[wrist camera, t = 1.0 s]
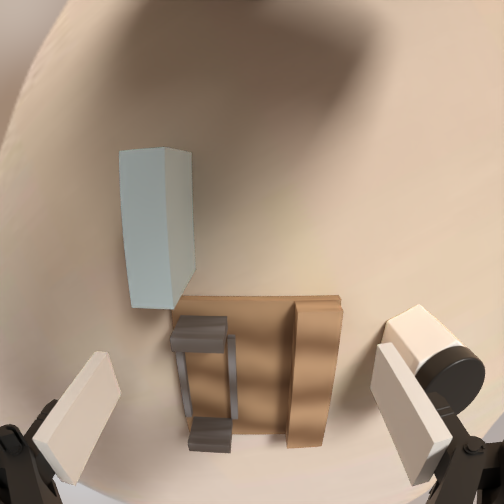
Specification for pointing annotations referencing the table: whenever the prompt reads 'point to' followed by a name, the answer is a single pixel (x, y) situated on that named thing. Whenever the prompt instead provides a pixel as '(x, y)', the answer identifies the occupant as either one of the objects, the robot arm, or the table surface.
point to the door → (157, 224)
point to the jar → (436, 357)
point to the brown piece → (256, 366)
